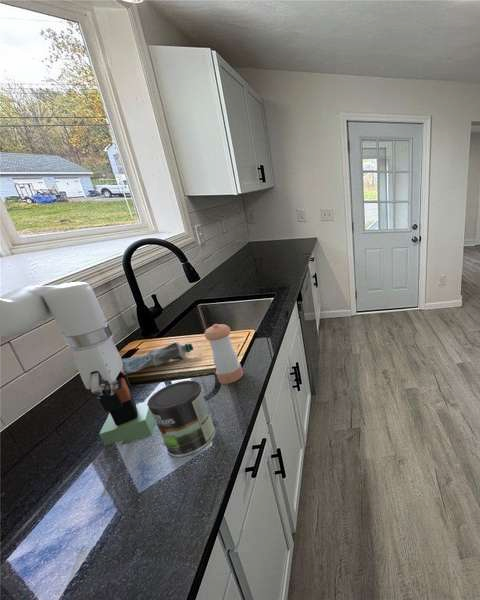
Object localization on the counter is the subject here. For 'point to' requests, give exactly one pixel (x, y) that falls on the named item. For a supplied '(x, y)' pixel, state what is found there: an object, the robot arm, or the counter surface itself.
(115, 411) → the battery
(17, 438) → the counter surface
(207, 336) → the pepper shaker
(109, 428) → the block
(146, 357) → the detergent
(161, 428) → the coffee can
